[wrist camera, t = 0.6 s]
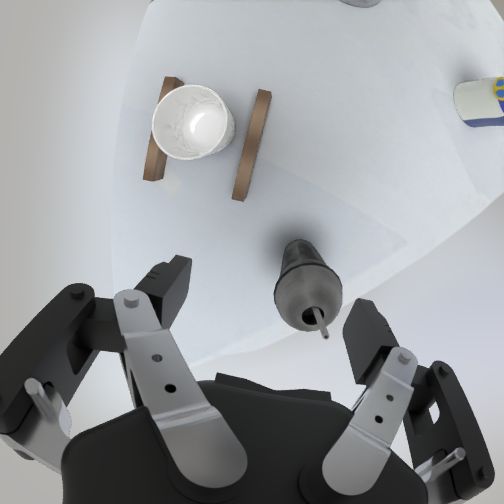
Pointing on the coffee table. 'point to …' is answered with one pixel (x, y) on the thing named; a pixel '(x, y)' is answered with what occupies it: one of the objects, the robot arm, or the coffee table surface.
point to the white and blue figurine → (481, 102)
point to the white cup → (192, 123)
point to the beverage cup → (307, 289)
